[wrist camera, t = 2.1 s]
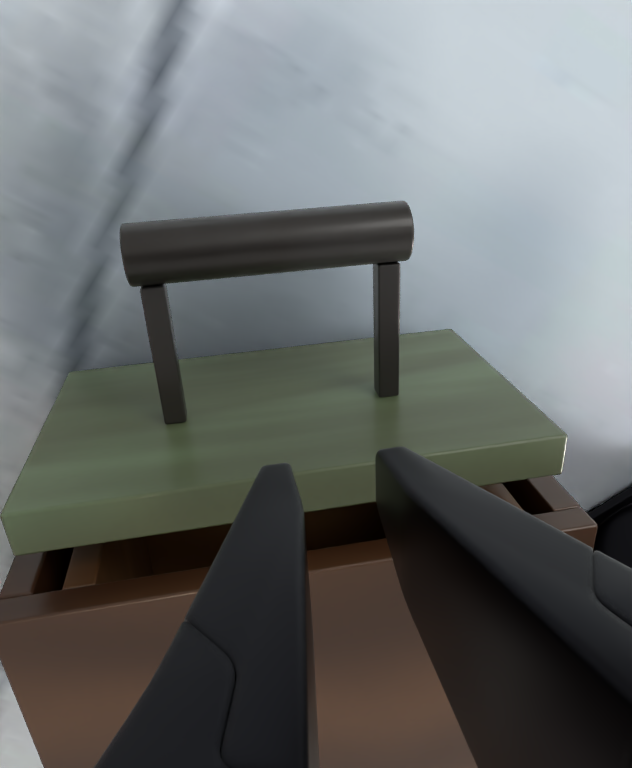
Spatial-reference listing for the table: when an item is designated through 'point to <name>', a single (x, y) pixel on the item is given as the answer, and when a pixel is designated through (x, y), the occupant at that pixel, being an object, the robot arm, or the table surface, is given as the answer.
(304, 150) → the table surface
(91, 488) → the drawer
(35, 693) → the cabinet
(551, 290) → the table surface
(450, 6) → the table surface
